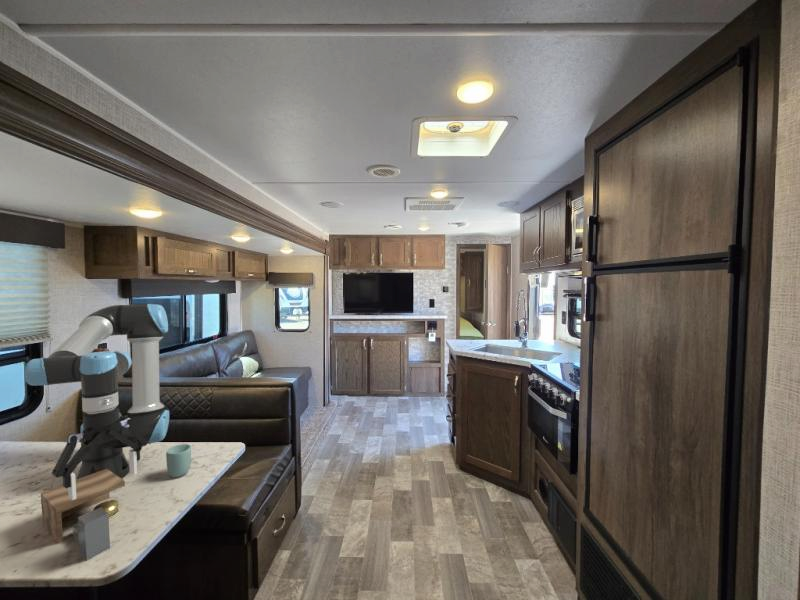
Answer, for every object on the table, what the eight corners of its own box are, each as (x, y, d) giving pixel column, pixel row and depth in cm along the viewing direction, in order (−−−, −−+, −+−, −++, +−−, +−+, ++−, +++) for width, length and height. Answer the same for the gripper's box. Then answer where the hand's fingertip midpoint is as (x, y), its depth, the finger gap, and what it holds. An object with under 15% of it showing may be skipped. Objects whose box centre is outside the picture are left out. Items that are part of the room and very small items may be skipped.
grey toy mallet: (67, 538, 100) (65, 504, 99) (89, 527, 104) (87, 495, 103) (86, 560, 92) (84, 524, 91) (110, 548, 96) (108, 513, 95)
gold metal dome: (90, 517, 109) (89, 508, 108) (113, 506, 114) (113, 497, 114) (97, 524, 106) (97, 514, 105) (121, 513, 111) (121, 503, 110)
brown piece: (42, 525, 105) (40, 493, 104) (108, 496, 119) (106, 468, 118) (58, 543, 98) (56, 509, 97) (126, 511, 111) (124, 481, 111)
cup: (174, 469, 136) (173, 444, 135) (195, 468, 137) (194, 443, 136) (162, 480, 128) (161, 454, 128) (184, 479, 129) (183, 453, 128)
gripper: (42, 428, 82) (47, 515, 83) (158, 398, 104) (161, 467, 105) (31, 422, 86) (36, 505, 87) (146, 394, 107) (149, 460, 109)
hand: (104, 484), depth 96 cm, fingers open, 13 cm apart
